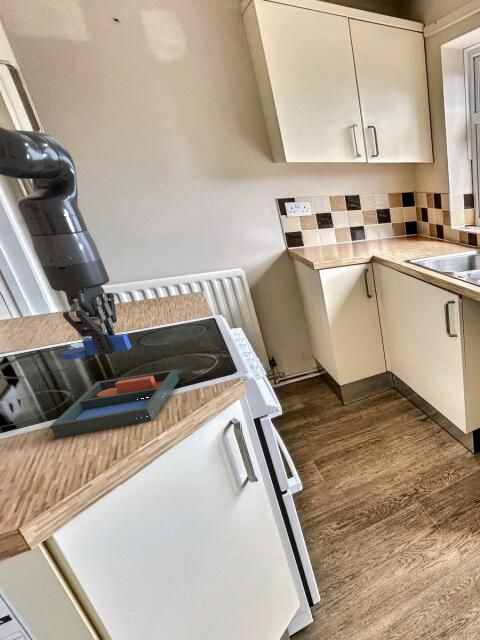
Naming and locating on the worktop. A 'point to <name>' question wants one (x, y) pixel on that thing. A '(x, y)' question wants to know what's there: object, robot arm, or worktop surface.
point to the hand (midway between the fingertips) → (109, 350)
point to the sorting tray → (114, 406)
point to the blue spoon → (89, 348)
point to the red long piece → (130, 386)
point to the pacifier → (76, 345)
